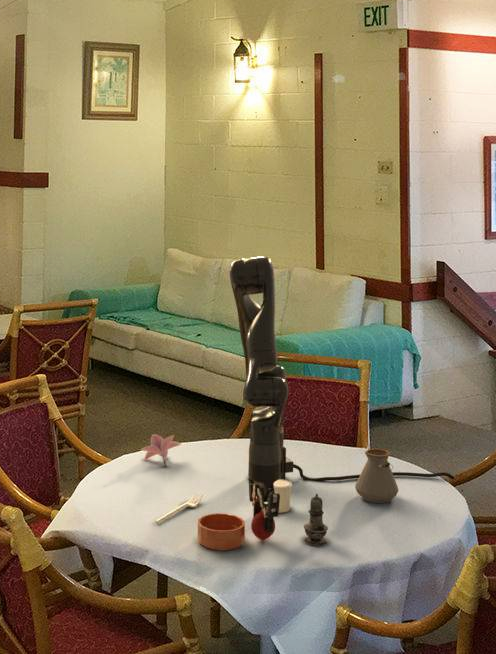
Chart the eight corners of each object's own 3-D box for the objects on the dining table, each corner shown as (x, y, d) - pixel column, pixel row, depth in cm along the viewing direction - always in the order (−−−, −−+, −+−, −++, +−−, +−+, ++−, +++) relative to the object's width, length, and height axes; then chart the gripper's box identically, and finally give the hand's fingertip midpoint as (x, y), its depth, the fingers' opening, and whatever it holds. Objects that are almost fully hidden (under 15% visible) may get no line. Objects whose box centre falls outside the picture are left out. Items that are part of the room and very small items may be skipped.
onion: (273, 546, 230) (274, 514, 229) (249, 544, 231) (250, 512, 230) (275, 536, 235) (276, 505, 234) (252, 534, 236) (252, 503, 235)
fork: (150, 522, 244) (151, 515, 243) (194, 499, 260) (194, 492, 260) (161, 525, 242) (161, 518, 241) (204, 502, 258) (204, 495, 258)
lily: (187, 463, 292) (179, 432, 295) (181, 460, 281) (172, 428, 284) (149, 474, 293) (141, 443, 296) (142, 471, 282) (134, 439, 285)
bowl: (234, 530, 239) (234, 511, 238) (251, 548, 228) (252, 528, 228) (191, 535, 236) (191, 515, 235) (207, 554, 225) (207, 533, 224)
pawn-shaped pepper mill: (309, 534, 237) (311, 487, 235) (331, 540, 233) (333, 492, 232) (298, 542, 232) (300, 494, 230) (321, 548, 229) (322, 499, 227)
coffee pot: (351, 490, 267) (353, 437, 265) (393, 491, 267) (395, 438, 265) (364, 519, 246) (366, 463, 244) (409, 520, 246) (412, 464, 244)
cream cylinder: (274, 515, 249) (275, 489, 248) (260, 506, 255) (260, 480, 254) (296, 510, 252) (297, 485, 251) (281, 502, 258) (282, 477, 257)
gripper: (291, 467, 225) (289, 536, 227) (267, 448, 238) (265, 514, 240) (261, 470, 222) (260, 539, 225) (238, 451, 236) (237, 517, 238)
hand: (263, 526), depth 233 cm, fingers closed on onion, 6 cm apart
